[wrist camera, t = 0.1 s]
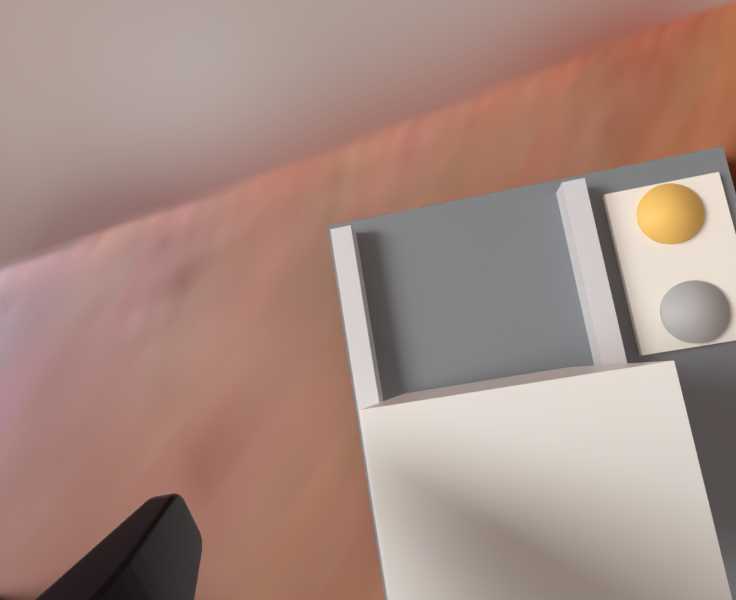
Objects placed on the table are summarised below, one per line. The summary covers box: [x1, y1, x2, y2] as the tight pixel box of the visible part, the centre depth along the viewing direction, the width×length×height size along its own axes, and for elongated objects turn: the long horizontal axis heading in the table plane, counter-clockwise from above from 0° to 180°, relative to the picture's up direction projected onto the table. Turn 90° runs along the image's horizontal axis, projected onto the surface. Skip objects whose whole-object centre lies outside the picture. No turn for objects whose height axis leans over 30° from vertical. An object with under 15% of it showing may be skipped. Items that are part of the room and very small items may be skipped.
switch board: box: [328, 146, 736, 600], centre depth 20 cm, size 18×15×3 cm
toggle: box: [359, 361, 732, 600], centre depth 15 cm, size 6×6×10 cm
